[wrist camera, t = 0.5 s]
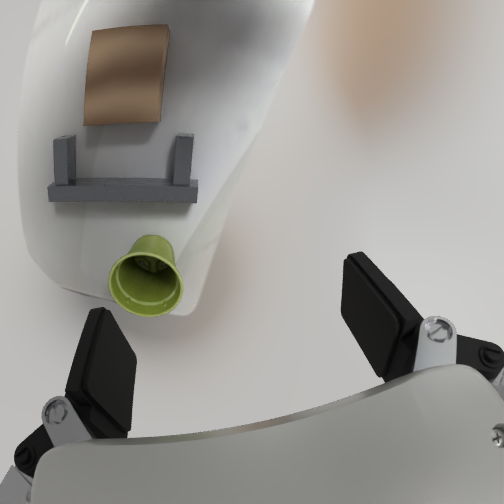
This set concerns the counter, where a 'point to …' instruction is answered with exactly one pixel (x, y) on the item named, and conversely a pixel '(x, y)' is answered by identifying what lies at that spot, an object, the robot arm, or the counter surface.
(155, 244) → the plant pot
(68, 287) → the counter surface
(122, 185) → the stop bracket
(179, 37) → the counter surface
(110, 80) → the walnut slab
